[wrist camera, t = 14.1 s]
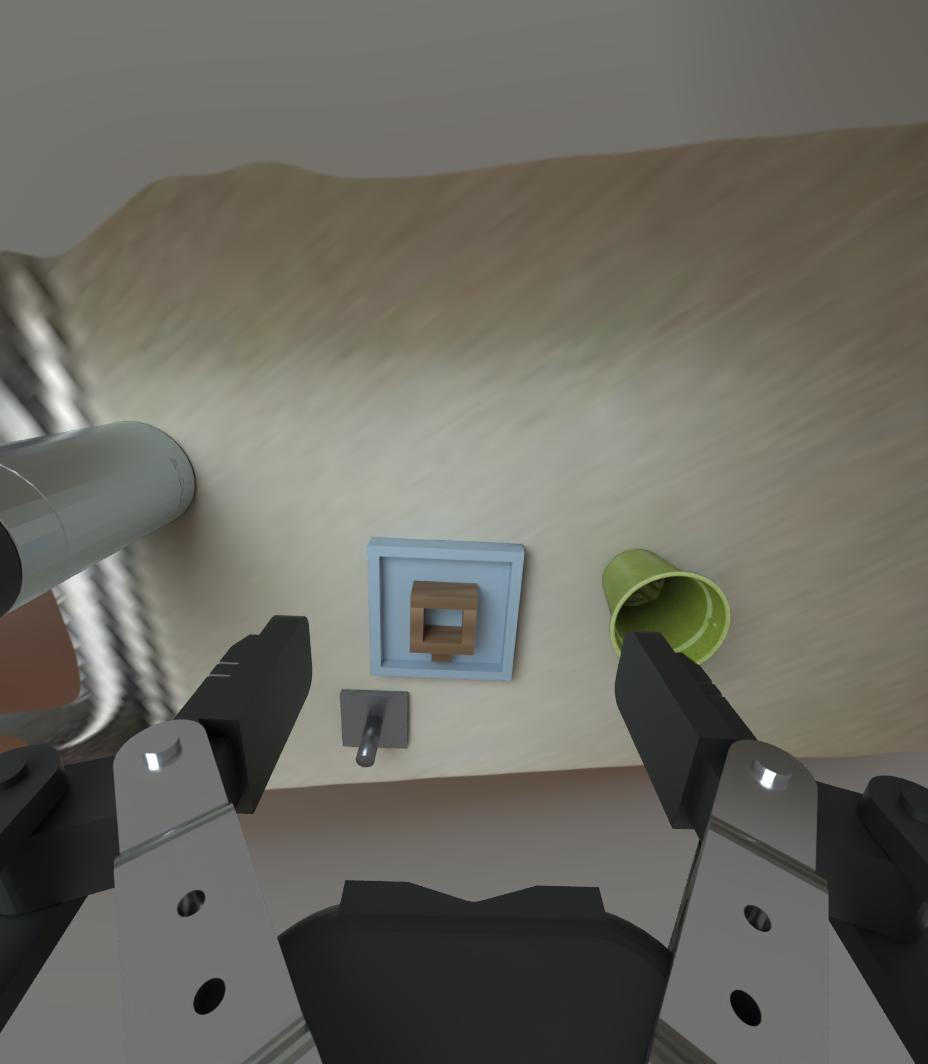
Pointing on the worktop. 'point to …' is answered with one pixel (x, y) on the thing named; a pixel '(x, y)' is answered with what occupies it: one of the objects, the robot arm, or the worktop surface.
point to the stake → (373, 721)
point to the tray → (443, 562)
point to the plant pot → (665, 604)
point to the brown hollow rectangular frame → (441, 637)
